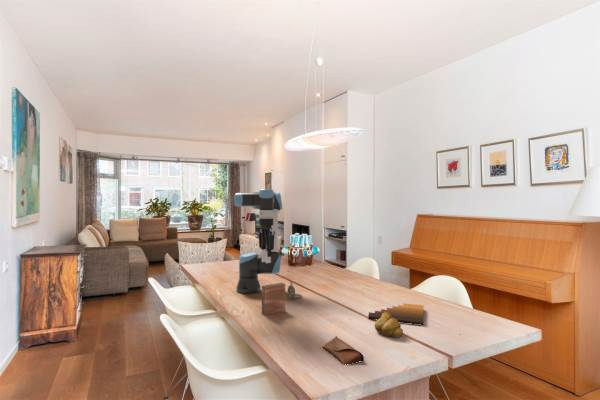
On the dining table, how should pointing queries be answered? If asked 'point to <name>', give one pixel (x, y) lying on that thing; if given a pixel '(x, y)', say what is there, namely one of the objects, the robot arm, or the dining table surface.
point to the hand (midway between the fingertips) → (266, 262)
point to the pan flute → (402, 313)
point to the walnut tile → (273, 298)
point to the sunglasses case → (343, 351)
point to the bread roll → (388, 325)
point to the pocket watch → (293, 292)
